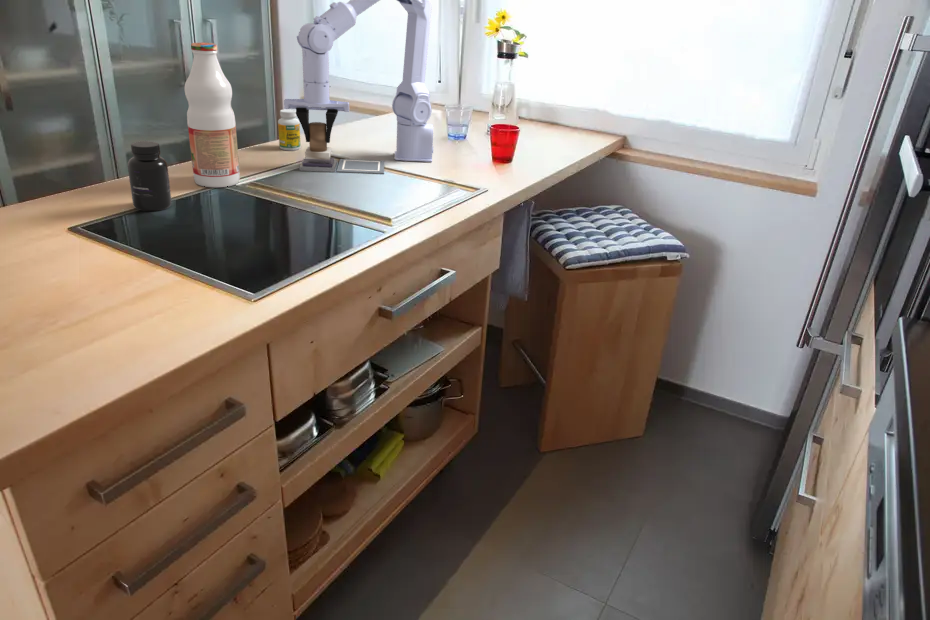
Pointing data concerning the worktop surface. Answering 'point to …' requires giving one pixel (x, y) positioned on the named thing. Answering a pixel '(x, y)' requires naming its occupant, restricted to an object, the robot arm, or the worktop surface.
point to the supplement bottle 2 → (289, 130)
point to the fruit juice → (211, 120)
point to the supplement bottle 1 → (149, 177)
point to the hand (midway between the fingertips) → (318, 141)
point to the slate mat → (361, 166)
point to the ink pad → (318, 165)
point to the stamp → (317, 142)
